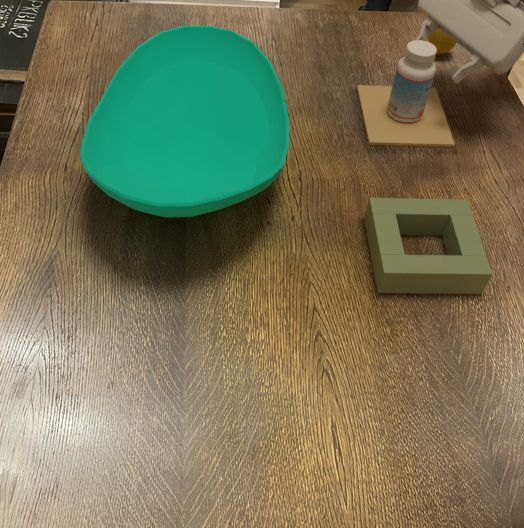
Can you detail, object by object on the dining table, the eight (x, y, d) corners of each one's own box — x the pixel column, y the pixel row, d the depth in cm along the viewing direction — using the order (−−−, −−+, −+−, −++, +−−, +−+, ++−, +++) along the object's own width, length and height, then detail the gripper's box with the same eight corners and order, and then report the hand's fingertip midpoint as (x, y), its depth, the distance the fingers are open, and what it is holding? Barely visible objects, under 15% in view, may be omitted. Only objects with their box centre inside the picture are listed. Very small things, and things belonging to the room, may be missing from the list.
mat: (434, 90, 107) (435, 87, 107) (453, 147, 98) (455, 144, 97) (356, 88, 106) (357, 84, 106) (368, 145, 97) (369, 142, 97)
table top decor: (272, 295, 78) (280, 218, 67) (60, 271, 78) (34, 191, 68) (293, 113, 101) (301, 34, 90) (128, 96, 101) (117, 15, 90)
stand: (458, 220, 88) (467, 199, 85) (481, 294, 80) (492, 274, 77) (363, 218, 87) (369, 197, 84) (377, 293, 79) (384, 272, 76)
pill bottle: (425, 124, 100) (445, 59, 91) (388, 123, 100) (405, 57, 91) (419, 103, 104) (438, 38, 94) (383, 102, 103) (399, 36, 94)
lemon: (421, 58, 113) (433, 14, 106) (425, 44, 116) (437, 0, 109) (450, 65, 112) (464, 21, 106) (454, 50, 115) (468, 6, 109)
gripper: (556, 33, 88) (481, 109, 93) (467, -28, 98) (404, 43, 103) (547, 7, 83) (468, 89, 88) (454, -55, 93) (388, 22, 98)
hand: (433, 64), depth 96 cm, fingers open, 8 cm apart
